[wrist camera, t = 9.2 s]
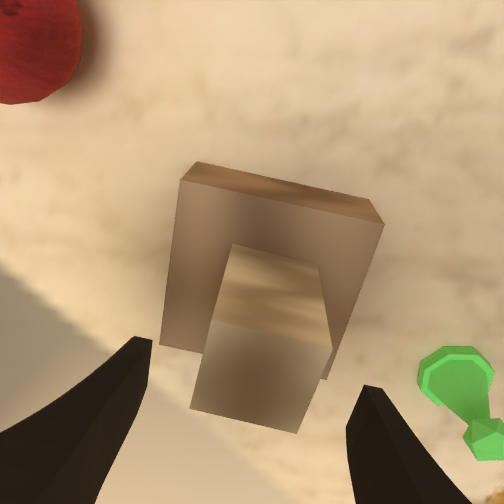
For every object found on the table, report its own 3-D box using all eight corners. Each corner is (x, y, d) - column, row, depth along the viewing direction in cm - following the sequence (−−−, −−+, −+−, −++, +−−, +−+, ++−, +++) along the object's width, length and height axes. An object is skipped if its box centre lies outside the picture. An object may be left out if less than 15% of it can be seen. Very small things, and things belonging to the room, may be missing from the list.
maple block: (317, 264, 18) (332, 349, 13) (292, 333, 20) (296, 433, 14) (232, 243, 18) (211, 319, 13) (214, 314, 20) (189, 408, 14)
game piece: (503, 358, 24) (568, 443, 18) (463, 406, 26) (511, 497, 20) (440, 334, 24) (487, 414, 18) (403, 385, 25) (435, 472, 20)
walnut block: (367, 197, 21) (384, 224, 17) (320, 334, 25) (326, 379, 21) (198, 159, 21) (180, 179, 17) (177, 303, 24) (159, 344, 21)
